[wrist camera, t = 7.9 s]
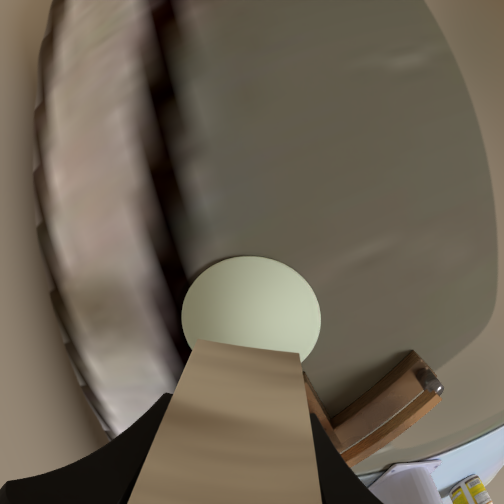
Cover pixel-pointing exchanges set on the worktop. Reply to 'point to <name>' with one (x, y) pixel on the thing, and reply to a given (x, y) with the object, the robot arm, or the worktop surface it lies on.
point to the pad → (252, 306)
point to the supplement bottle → (470, 492)
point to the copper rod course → (379, 409)
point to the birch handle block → (233, 433)
